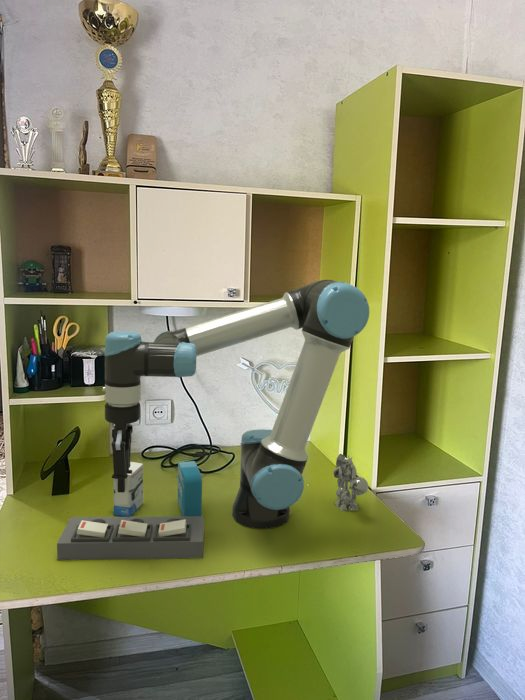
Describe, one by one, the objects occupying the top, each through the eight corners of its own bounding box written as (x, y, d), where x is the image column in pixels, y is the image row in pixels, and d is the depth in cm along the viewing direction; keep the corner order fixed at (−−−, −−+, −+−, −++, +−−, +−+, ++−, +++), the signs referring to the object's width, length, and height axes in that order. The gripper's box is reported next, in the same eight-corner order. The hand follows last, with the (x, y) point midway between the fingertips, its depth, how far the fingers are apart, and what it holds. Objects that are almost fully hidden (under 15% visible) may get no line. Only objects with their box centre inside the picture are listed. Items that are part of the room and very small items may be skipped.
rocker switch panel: (203, 531, 137) (203, 513, 136) (202, 557, 125) (203, 538, 124) (71, 532, 134) (70, 514, 133) (57, 560, 122) (56, 540, 121)
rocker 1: (107, 528, 128) (108, 523, 127) (103, 537, 124) (104, 532, 123) (80, 524, 127) (81, 519, 127) (76, 533, 123) (77, 528, 123)
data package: (177, 501, 152) (177, 460, 150) (193, 499, 154) (194, 459, 151) (184, 522, 141) (184, 478, 139) (201, 520, 142) (202, 476, 140)
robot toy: (371, 520, 146) (375, 466, 143) (350, 522, 144) (354, 468, 141) (346, 495, 159) (350, 446, 157) (327, 498, 158) (330, 448, 155)
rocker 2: (186, 523, 129) (185, 518, 129) (185, 532, 125) (184, 527, 125) (161, 528, 129) (160, 523, 128) (159, 537, 125) (158, 531, 125)
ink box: (130, 517, 142) (130, 474, 140) (112, 515, 143) (112, 472, 141) (144, 503, 150) (143, 462, 148) (127, 501, 151) (126, 460, 149)
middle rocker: (146, 528, 128) (147, 523, 128) (144, 537, 125) (145, 532, 124) (120, 524, 128) (121, 519, 127) (117, 533, 124) (118, 528, 124)
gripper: (110, 394, 126) (110, 490, 131) (99, 410, 114) (99, 516, 118) (143, 395, 127) (142, 490, 131) (136, 411, 114) (134, 517, 119)
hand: (122, 503), depth 125 cm, fingers closed
